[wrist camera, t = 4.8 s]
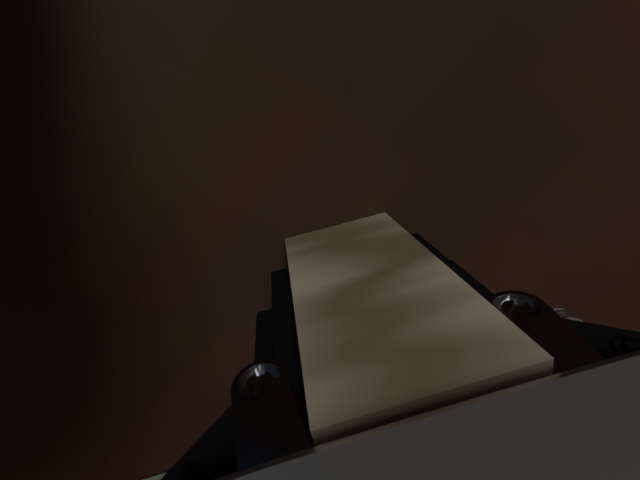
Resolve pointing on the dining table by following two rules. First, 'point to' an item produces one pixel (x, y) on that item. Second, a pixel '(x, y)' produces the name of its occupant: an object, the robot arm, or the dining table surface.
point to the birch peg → (394, 330)
